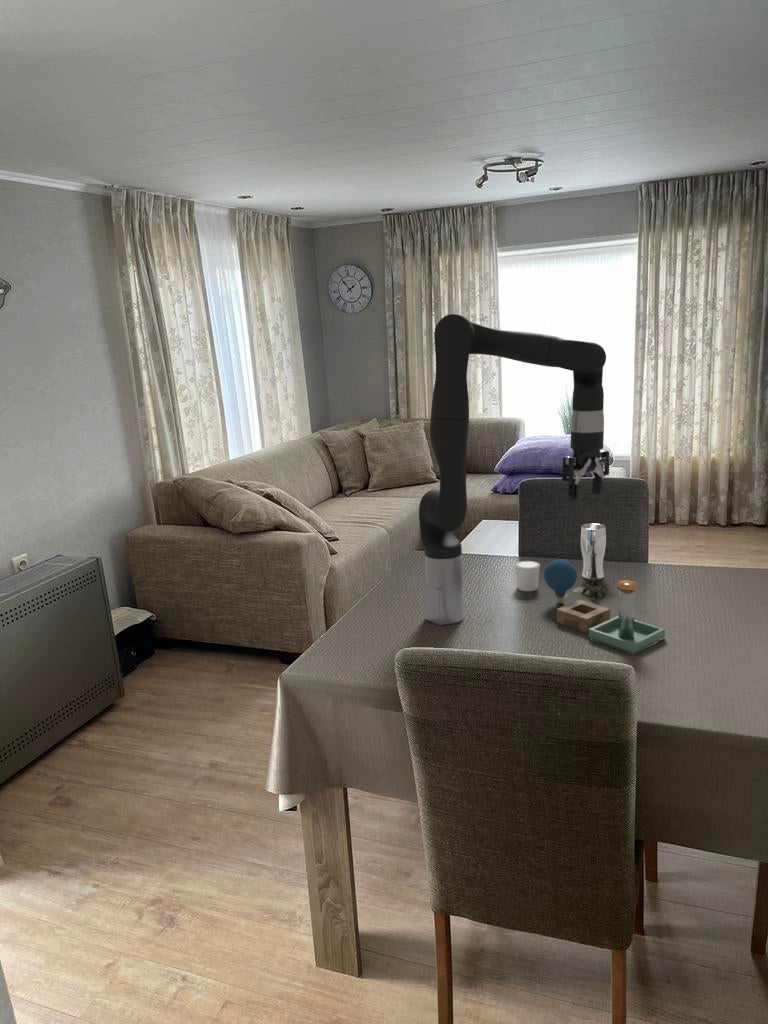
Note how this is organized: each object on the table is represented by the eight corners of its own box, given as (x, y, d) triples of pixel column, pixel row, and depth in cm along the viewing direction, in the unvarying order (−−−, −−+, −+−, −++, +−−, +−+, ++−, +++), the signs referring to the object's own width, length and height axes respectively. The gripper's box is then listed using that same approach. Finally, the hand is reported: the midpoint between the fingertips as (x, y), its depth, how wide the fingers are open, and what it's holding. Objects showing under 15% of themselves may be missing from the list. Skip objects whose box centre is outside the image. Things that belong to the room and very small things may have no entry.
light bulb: (553, 611, 186) (553, 566, 183) (538, 600, 194) (538, 557, 191) (582, 606, 188) (583, 562, 185) (566, 595, 196) (566, 553, 193)
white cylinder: (542, 591, 200) (542, 567, 199) (517, 592, 200) (517, 568, 199) (537, 583, 207) (537, 559, 205) (513, 584, 207) (513, 560, 205)
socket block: (586, 632, 172) (586, 619, 171) (556, 622, 179) (556, 609, 178) (609, 622, 177) (610, 608, 176) (579, 612, 184) (579, 599, 183)
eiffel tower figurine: (627, 593, 197) (628, 546, 193) (619, 606, 188) (620, 557, 185) (571, 587, 204) (572, 541, 201) (562, 599, 195) (562, 552, 192)
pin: (628, 642, 164) (630, 588, 161) (612, 636, 168) (613, 583, 165) (640, 636, 167) (641, 583, 164) (623, 631, 170) (624, 579, 167)
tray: (633, 655, 159) (634, 644, 159) (588, 638, 169) (588, 629, 168) (664, 639, 166) (665, 629, 166) (619, 624, 176) (620, 614, 175)
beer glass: (579, 579, 208) (580, 529, 204) (580, 571, 214) (581, 522, 210) (605, 580, 206) (606, 529, 202) (605, 572, 212) (606, 523, 208)
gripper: (579, 433, 163) (578, 503, 167) (619, 427, 171) (617, 494, 175) (554, 431, 169) (553, 498, 173) (594, 425, 177) (592, 489, 181)
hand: (585, 496), depth 174 cm, fingers open, 8 cm apart
